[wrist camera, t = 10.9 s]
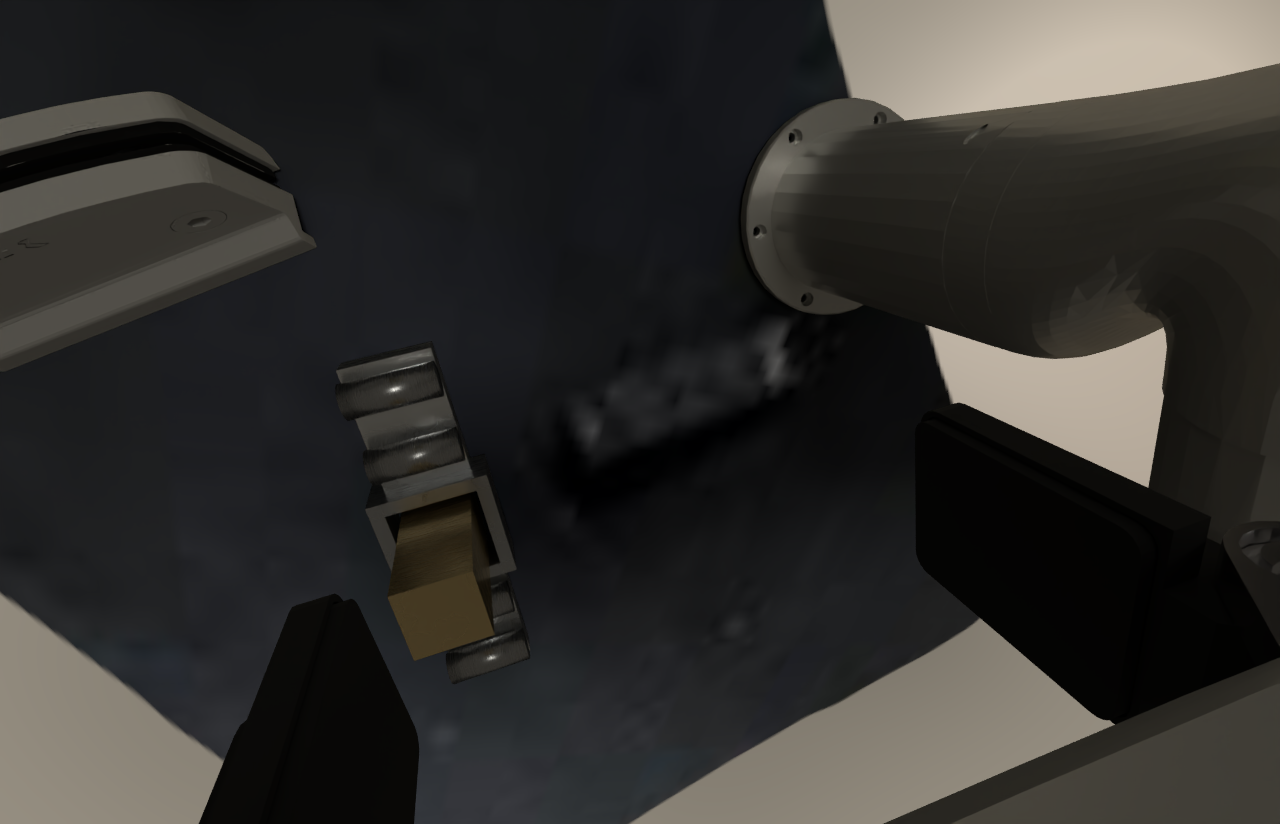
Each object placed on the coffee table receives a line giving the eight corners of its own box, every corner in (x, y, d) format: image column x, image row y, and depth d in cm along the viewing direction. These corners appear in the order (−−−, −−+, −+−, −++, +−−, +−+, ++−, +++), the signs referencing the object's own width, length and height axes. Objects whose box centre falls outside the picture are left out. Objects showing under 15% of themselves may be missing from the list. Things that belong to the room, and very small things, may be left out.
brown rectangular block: (469, 478, 39) (472, 571, 30) (486, 532, 40) (494, 634, 31) (404, 496, 38) (387, 597, 29) (424, 550, 40) (414, 660, 31)
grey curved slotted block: (-4, 375, 30) (-275, 368, 20) (-53, 284, 30) (-354, 234, 20) (324, 244, 32) (221, 180, 22) (282, 157, 32) (158, 53, 22)
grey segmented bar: (447, 337, 35) (446, 353, 32) (540, 630, 44) (546, 665, 41) (323, 366, 34) (310, 386, 31) (444, 662, 43) (443, 701, 40)
